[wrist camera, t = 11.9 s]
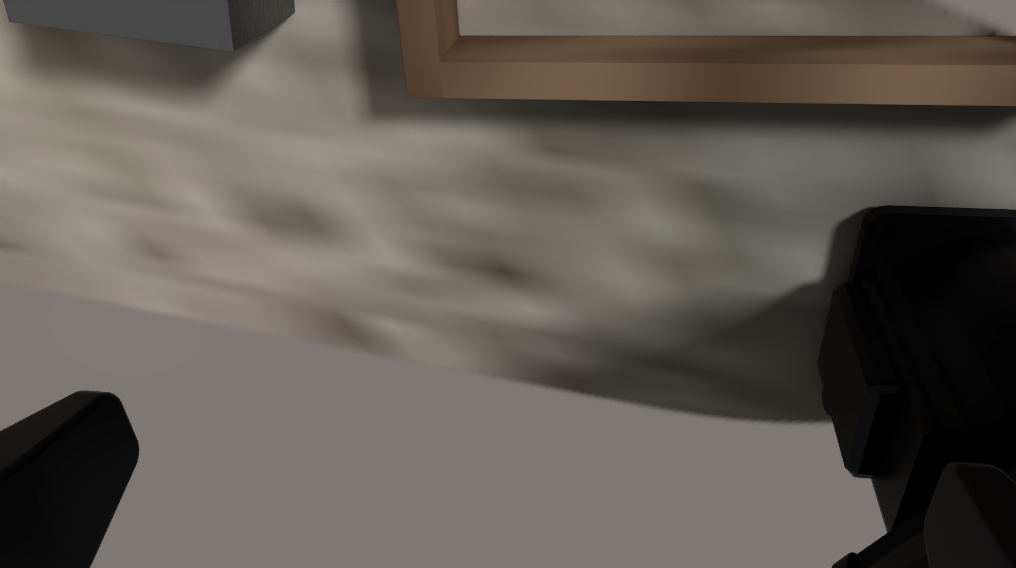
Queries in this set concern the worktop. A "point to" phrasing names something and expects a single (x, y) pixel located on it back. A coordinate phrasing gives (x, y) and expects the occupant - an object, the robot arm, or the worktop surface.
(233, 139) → the worktop surface
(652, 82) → the walnut box
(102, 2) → the dark gray box
